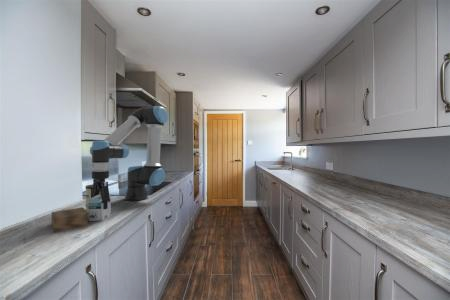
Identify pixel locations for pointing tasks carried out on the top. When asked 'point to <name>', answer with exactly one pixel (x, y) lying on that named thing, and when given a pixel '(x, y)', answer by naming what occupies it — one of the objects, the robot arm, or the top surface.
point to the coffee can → (88, 196)
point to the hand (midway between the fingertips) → (100, 212)
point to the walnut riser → (69, 219)
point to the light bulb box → (97, 209)
